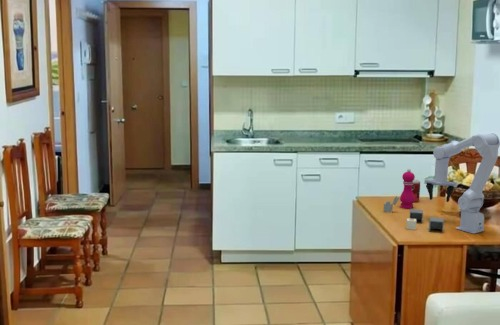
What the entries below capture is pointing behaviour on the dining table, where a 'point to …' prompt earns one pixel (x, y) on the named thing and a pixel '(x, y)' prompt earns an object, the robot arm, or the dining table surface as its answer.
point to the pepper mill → (407, 190)
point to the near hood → (436, 223)
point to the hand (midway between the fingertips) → (439, 200)
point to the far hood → (416, 214)
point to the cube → (411, 224)
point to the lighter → (390, 205)
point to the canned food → (416, 190)
